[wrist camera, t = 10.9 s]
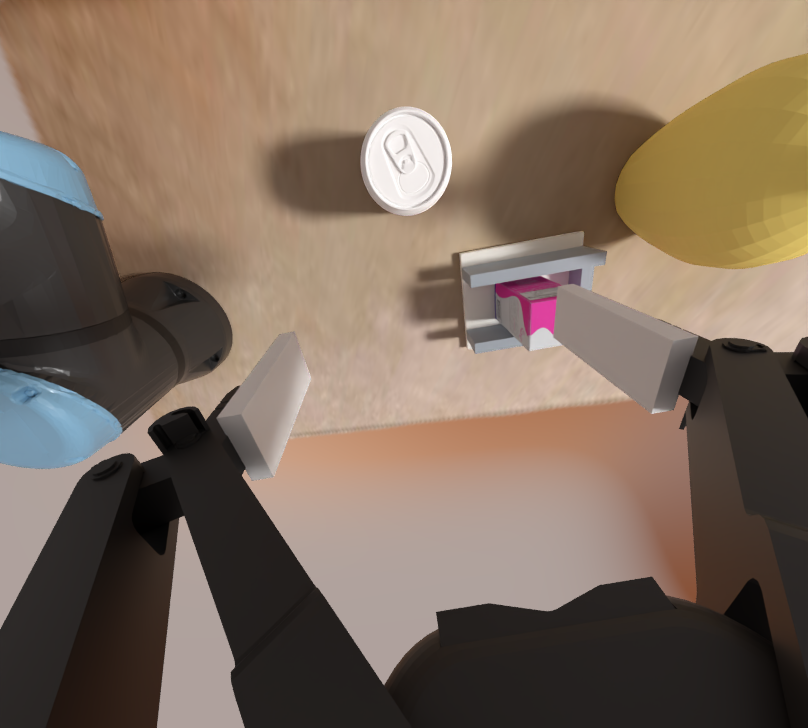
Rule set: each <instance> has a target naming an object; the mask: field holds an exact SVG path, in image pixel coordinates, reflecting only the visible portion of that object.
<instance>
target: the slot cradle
mask: <svg viewBox="0 0 808 728" xmlns="http://www.w3.org/2000/svg"><path fill="white" fill-rule="evenodd" d="M583 240H584V232H583V231H577V232H572V233H566V234H561V235H555V236H550V237H544V238H539V239H533V240H528V241H522V242H517V243H511V244H506V245H500V246H495V247H489V248H484V249H478V250H473V251H467V252H462V253H459V258H460V271H461V284H462V297H463V310H464V322H465V335H466V347H467V349H473V351H474V352H475V354H477V353H483V352H489V351H495V350H501V349H507V348H513V347H519V346H523V345H522V344H521V343H520V342H519V341H518V340H517V339H516V338H515V337H514V336H513V335H512V334H511V333H510V332H509V331H508V330H507V329H506V328H505V327H504V326H503V325H502V324H501V323H500V322H499V321H497V319H495V284H497V283H503V282H508V281H514V280H520V279H525V278H531V277H537V276H542V277H544V278H546V279H549V280H551V281H553V282H556V283H558V284H560V285H569V284H575V285H578V286H580V287H582V288H585V289H587V290H589V291H591V290H592V282H593V274H594V266H599V265H605V261H606V254H607V251H603V250H599V249H594V248H590V247H585V246H583Z"/></svg>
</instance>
